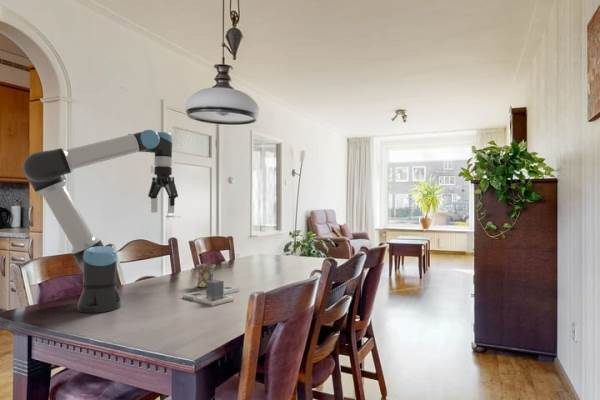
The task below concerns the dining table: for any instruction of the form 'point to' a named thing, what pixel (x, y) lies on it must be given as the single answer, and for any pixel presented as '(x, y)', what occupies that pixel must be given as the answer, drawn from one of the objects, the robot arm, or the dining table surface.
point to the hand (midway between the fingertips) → (162, 212)
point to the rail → (203, 293)
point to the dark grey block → (214, 290)
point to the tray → (224, 300)
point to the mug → (204, 274)
